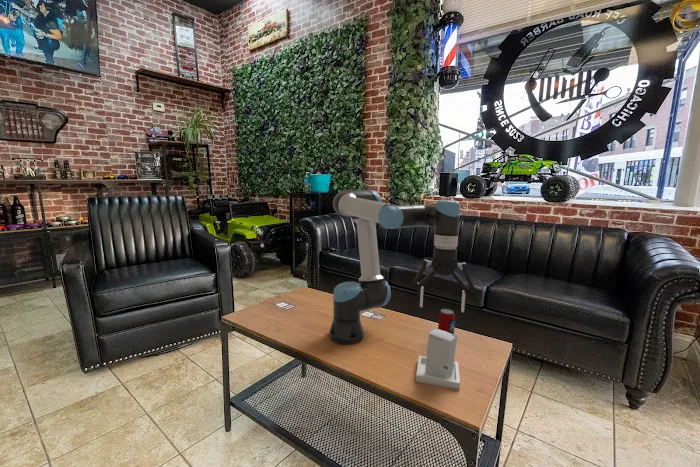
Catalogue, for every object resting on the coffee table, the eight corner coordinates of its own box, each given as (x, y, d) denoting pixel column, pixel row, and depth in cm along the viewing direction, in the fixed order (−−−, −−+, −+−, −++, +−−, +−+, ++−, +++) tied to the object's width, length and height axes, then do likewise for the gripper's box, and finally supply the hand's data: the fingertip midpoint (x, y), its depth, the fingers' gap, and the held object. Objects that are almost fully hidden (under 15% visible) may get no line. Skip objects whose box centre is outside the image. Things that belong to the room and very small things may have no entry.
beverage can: (454, 341, 133) (456, 314, 131) (438, 339, 134) (439, 313, 133) (452, 334, 140) (454, 308, 138) (437, 332, 141) (438, 307, 139)
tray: (415, 381, 105) (416, 375, 105) (418, 361, 118) (419, 355, 117) (459, 389, 101) (459, 383, 101) (457, 367, 114) (457, 361, 113)
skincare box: (424, 372, 110) (427, 332, 107) (432, 365, 114) (434, 327, 112) (447, 382, 104) (450, 340, 102) (454, 373, 109) (457, 334, 107)
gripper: (406, 246, 103) (403, 307, 106) (487, 252, 96) (482, 317, 99) (408, 242, 110) (405, 299, 113) (484, 247, 103) (479, 308, 106)
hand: (441, 308), depth 106 cm, fingers open, 13 cm apart
